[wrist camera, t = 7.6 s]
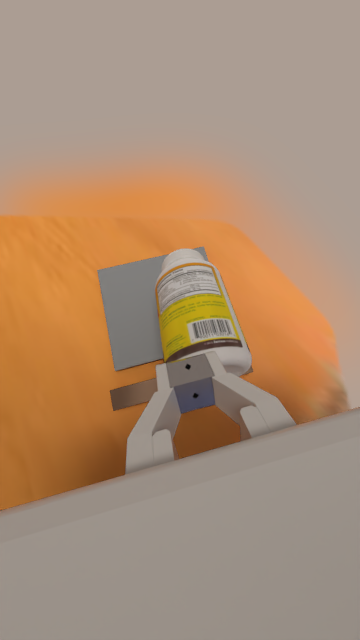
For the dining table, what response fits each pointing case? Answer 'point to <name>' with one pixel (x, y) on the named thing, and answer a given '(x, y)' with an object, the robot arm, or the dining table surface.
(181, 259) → the supplement bottle
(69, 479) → the dining table surface
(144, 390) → the strip
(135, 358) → the felt tile
